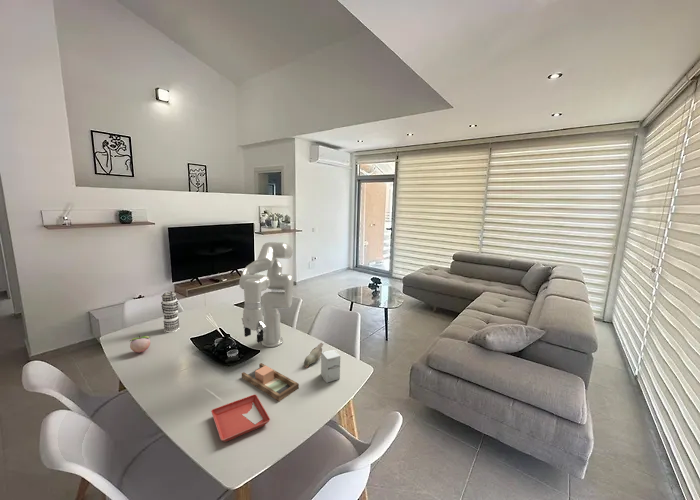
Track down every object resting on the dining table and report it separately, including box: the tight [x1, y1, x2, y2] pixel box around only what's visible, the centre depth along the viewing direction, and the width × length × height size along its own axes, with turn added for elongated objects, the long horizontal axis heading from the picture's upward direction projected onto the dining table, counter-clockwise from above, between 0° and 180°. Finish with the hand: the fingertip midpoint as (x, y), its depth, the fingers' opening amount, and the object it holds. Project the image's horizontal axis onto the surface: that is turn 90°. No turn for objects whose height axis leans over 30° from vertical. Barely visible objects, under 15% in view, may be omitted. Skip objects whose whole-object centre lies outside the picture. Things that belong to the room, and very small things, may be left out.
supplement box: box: [320, 349, 341, 384], centre depth 145 cm, size 7×7×13 cm
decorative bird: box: [303, 342, 324, 369], centre depth 159 cm, size 5×16×8 cm, turn 153°
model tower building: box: [160, 291, 180, 333], centre depth 190 cm, size 9×9×25 cm
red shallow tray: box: [210, 393, 271, 443], centre depth 116 cm, size 18×18×3 cm
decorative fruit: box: [129, 335, 151, 353], centre depth 163 cm, size 9×8×10 cm
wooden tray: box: [241, 362, 300, 402], centre depth 139 cm, size 27×11×3 cm, turn 54°
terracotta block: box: [254, 365, 275, 385], centre depth 141 cm, size 6×6×5 cm
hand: (253, 338), depth 143 cm, fingers open, 9 cm apart
